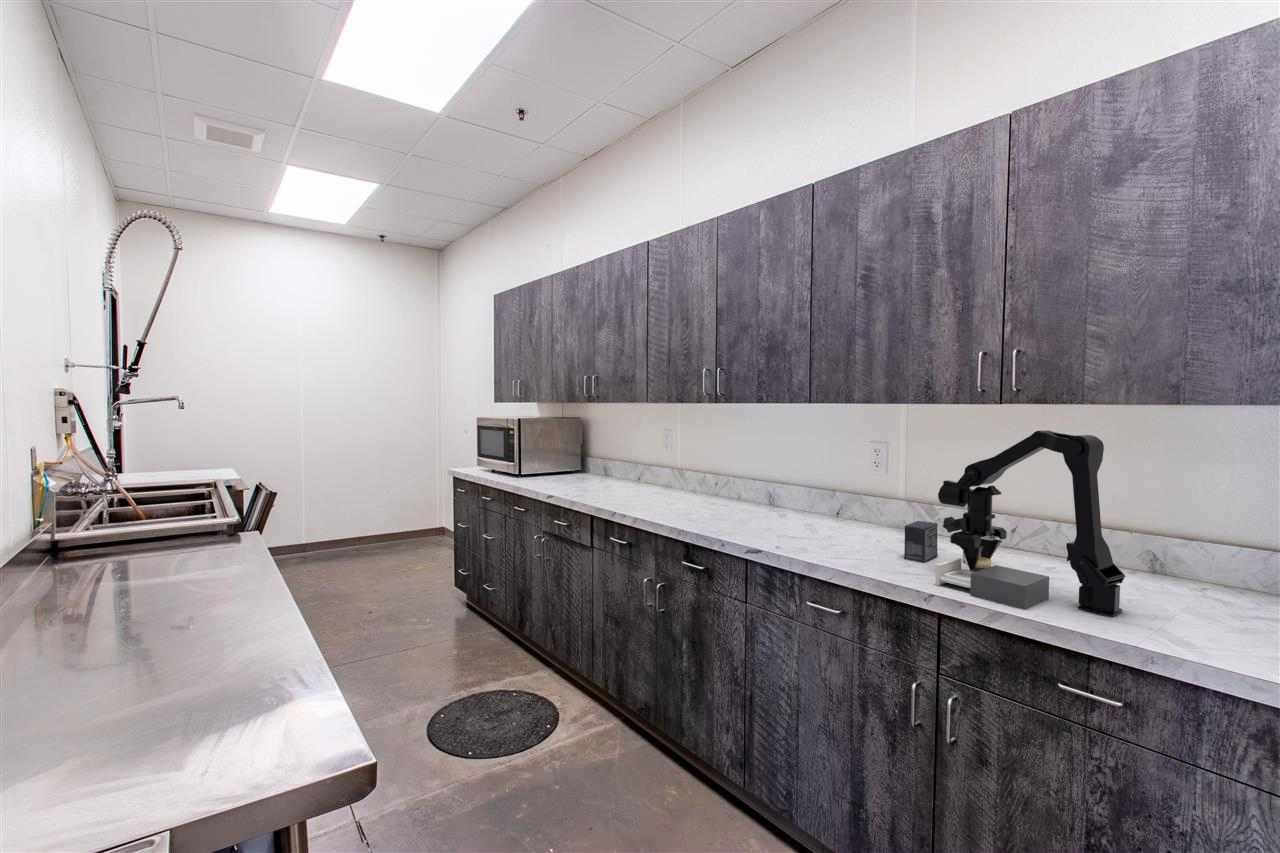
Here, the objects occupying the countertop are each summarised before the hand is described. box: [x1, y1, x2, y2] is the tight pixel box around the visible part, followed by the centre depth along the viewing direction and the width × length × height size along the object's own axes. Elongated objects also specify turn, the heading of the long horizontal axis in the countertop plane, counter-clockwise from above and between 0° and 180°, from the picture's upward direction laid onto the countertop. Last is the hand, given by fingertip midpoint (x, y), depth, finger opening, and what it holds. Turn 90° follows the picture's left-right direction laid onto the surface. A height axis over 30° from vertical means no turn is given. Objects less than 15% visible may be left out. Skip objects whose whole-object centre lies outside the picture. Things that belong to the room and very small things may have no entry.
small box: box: [903, 520, 938, 564], centre depth 178 cm, size 11×6×10 cm, turn 134°
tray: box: [935, 558, 974, 589], centre depth 150 cm, size 12×11×5 cm
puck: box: [969, 567, 986, 572], centre depth 157 cm, size 4×4×4 cm
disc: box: [964, 557, 992, 568], centre depth 157 cm, size 6×6×2 cm
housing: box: [969, 564, 1050, 610], centre depth 142 cm, size 12×13×5 cm
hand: (978, 567), depth 157 cm, fingers open, 7 cm apart
